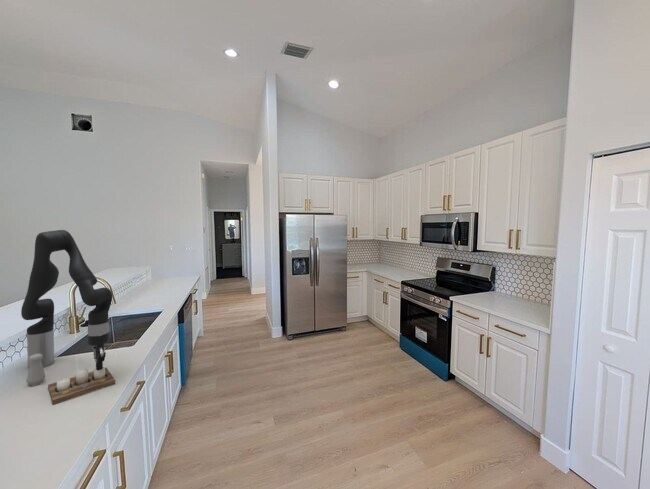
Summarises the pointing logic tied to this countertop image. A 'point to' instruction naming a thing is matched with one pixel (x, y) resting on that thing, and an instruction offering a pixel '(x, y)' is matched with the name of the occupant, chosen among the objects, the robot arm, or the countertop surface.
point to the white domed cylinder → (63, 384)
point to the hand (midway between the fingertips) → (99, 369)
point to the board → (80, 387)
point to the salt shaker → (35, 370)
